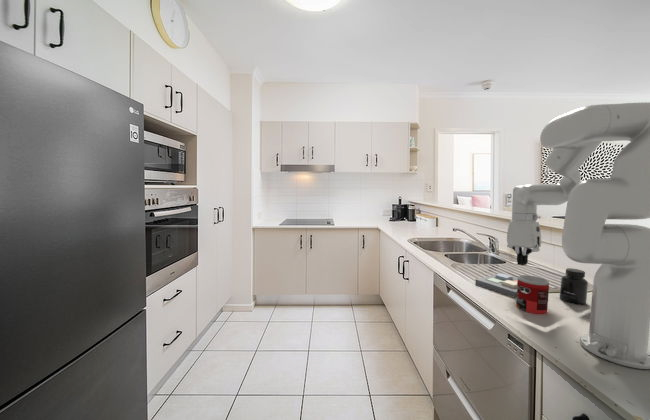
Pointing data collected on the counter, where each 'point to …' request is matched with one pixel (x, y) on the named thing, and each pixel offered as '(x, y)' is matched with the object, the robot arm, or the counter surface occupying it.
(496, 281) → the sage key
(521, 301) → the canned food
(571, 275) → the supplement bottle
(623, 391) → the counter surface
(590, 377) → the counter surface
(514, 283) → the sand key
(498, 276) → the slate key
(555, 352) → the counter surface
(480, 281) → the keypad
